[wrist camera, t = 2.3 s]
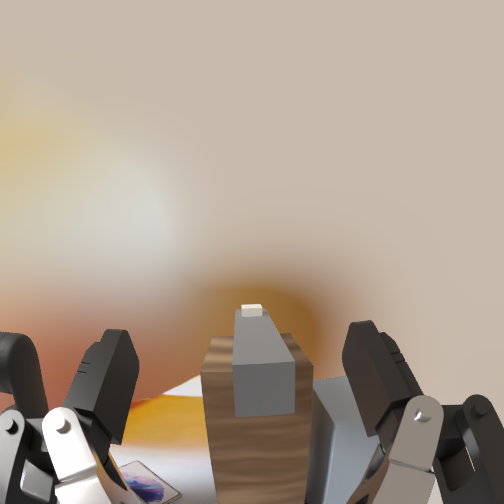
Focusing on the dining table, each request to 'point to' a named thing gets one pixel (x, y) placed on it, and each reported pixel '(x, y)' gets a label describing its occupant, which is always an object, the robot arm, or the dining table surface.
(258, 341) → the bar
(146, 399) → the dining table surface
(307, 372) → the walnut stand
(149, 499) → the smartphone
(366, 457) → the block
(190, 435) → the dining table surface
